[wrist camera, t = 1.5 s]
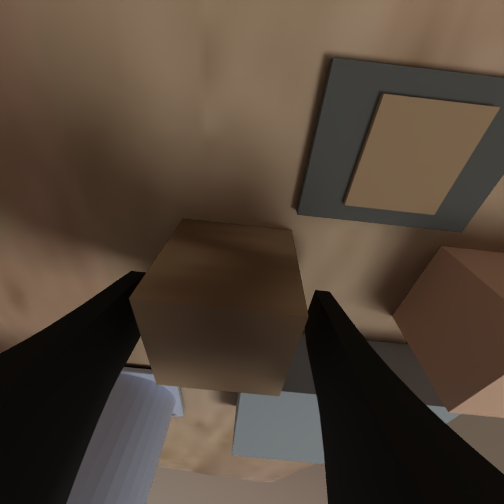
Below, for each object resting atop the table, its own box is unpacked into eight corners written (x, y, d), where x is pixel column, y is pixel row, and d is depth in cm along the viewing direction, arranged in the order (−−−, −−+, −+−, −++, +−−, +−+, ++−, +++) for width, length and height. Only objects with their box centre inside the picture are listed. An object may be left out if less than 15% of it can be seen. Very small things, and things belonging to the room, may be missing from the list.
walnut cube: (190, 294, 13) (156, 384, 9) (183, 217, 10) (128, 298, 6) (275, 303, 13) (279, 396, 9) (291, 229, 10) (308, 316, 6)
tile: (296, 210, 10) (297, 216, 9) (330, 59, 7) (335, 56, 6) (454, 227, 10) (465, 234, 9) (553, 86, 7) (576, 85, 6)
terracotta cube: (391, 315, 13) (448, 412, 9) (439, 245, 10) (554, 341, 6) (473, 323, 13) (566, 423, 9) (544, 256, 11) (722, 358, 6)
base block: (236, 401, 22) (231, 455, 18) (246, 323, 15) (241, 387, 12) (358, 412, 22) (374, 468, 19) (423, 340, 15) (468, 409, 12)
